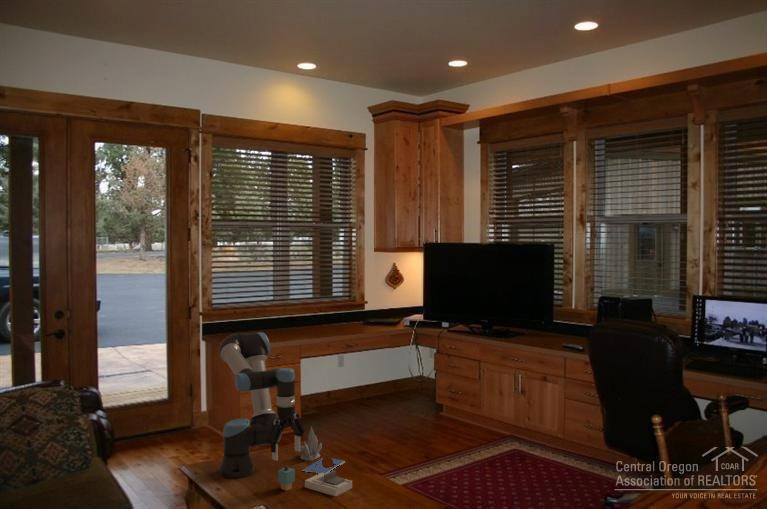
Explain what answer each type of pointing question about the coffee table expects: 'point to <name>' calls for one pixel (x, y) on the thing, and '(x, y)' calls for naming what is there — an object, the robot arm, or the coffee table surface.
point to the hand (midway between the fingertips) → (286, 455)
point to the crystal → (311, 447)
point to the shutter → (332, 478)
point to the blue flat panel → (320, 468)
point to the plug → (286, 477)
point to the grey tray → (327, 485)
